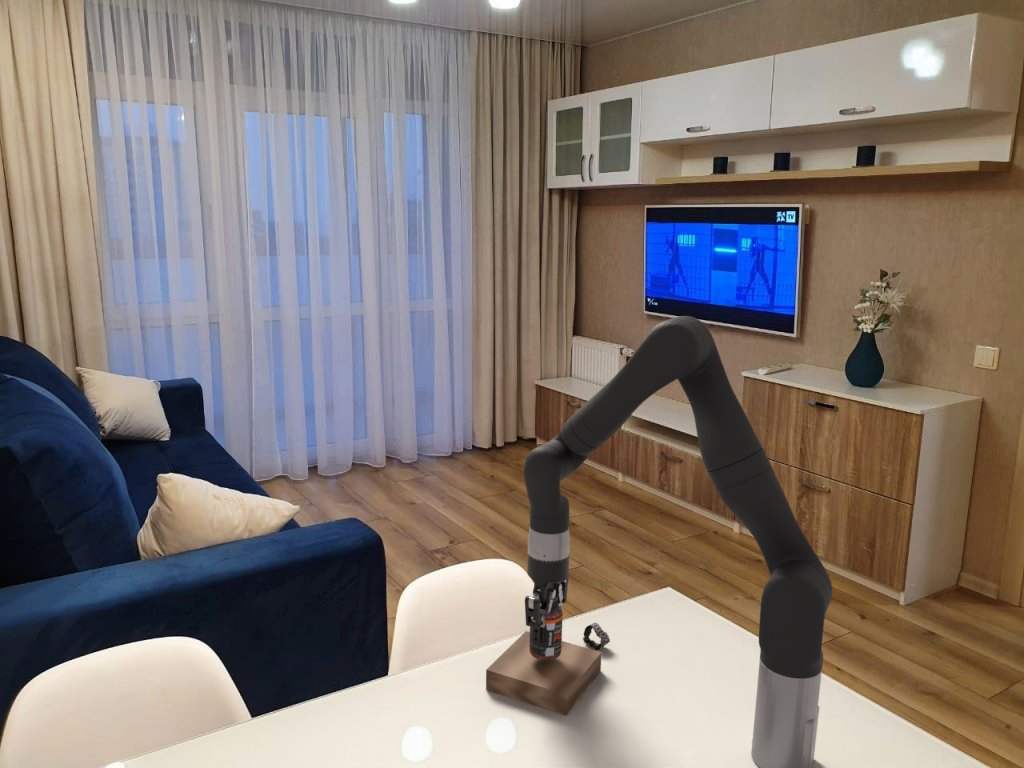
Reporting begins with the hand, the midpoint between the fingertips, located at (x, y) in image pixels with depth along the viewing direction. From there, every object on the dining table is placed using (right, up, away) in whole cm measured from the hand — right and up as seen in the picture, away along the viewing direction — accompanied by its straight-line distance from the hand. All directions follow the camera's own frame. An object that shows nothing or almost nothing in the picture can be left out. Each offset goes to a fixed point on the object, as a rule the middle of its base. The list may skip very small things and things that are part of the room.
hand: (546, 635), depth 151 cm
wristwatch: (+11, -7, +14) cm, 19 cm away
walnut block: (0, -9, +2) cm, 9 cm away
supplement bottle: (0, -4, +1) cm, 4 cm away
